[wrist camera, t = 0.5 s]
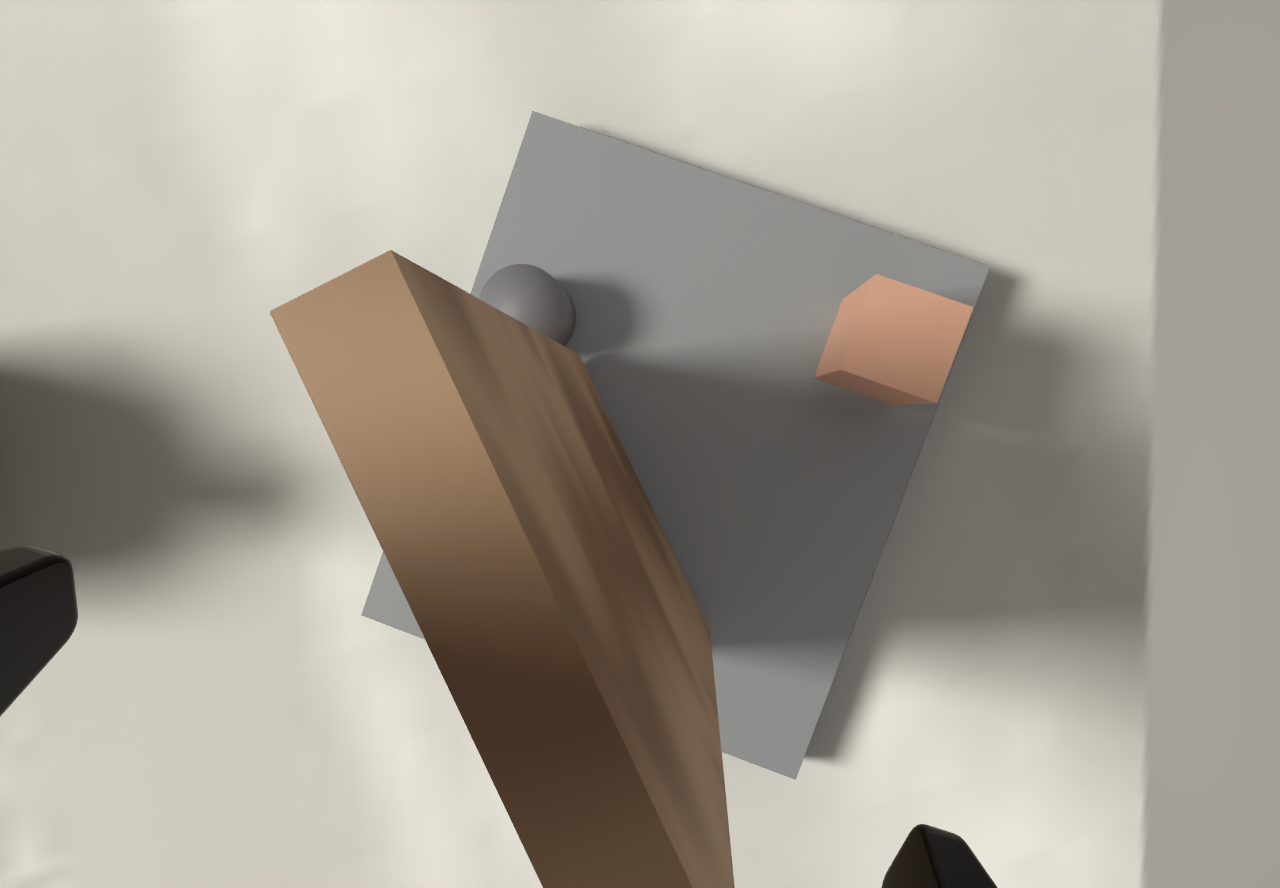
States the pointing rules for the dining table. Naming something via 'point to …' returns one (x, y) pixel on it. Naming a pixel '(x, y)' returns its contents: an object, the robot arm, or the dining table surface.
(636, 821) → the brown wooden panel
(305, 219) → the dining table surface
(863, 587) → the board
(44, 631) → the robot arm
